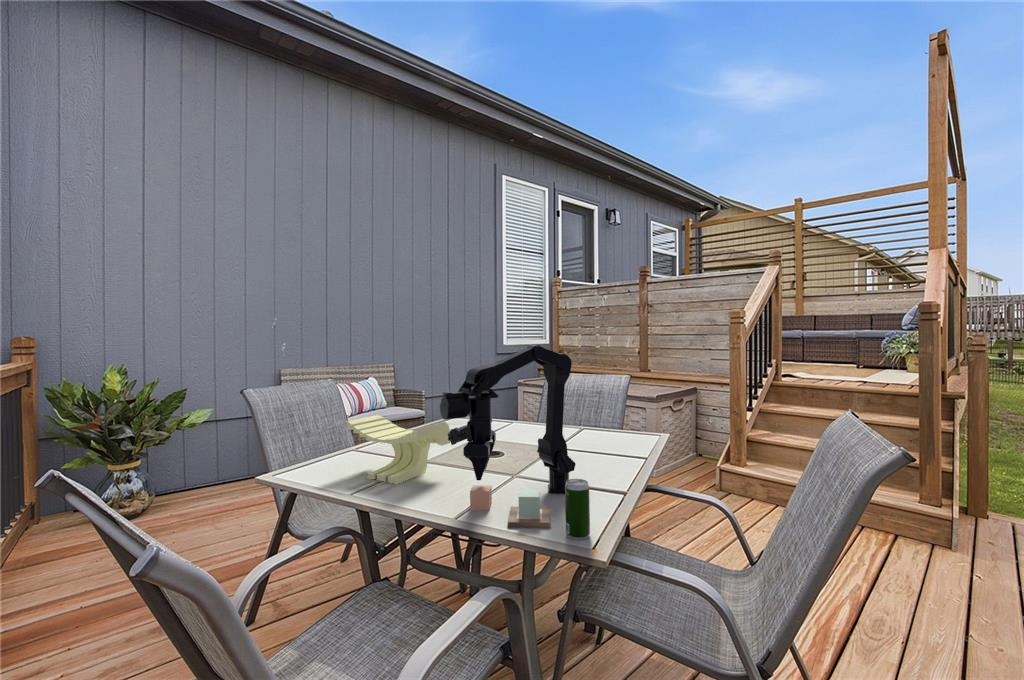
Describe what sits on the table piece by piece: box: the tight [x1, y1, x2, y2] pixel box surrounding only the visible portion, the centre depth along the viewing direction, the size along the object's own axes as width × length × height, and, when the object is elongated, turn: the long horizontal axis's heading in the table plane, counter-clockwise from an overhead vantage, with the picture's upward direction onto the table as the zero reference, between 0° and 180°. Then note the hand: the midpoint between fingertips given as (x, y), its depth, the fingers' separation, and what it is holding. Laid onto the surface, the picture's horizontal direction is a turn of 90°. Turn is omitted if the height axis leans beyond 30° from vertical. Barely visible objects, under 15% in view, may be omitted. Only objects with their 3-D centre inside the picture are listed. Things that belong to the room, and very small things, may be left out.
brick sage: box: [518, 489, 541, 518], centre depth 112 cm, size 5×5×5 cm
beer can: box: [564, 478, 591, 541], centre depth 102 cm, size 5×5×12 cm
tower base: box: [507, 506, 551, 529], centre depth 112 cm, size 10×10×1 cm
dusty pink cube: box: [469, 484, 493, 511], centre depth 121 cm, size 5×5×5 cm
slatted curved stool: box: [347, 414, 451, 485], centre depth 151 cm, size 30×16×18 cm, turn 60°
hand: (481, 474), depth 121 cm, fingers open, 9 cm apart
